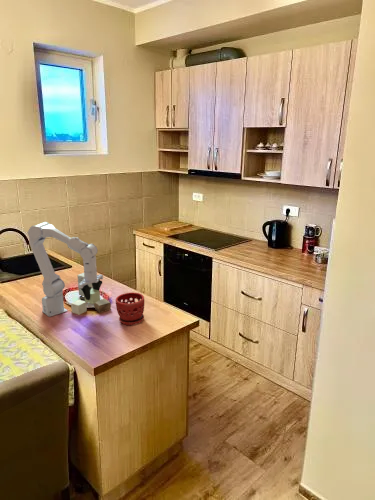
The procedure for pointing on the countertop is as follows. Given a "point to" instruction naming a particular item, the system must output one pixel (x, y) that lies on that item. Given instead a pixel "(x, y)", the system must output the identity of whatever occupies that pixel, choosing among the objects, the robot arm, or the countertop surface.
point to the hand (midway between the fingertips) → (92, 297)
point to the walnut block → (102, 305)
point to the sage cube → (93, 296)
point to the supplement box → (80, 279)
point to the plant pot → (130, 308)
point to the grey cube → (78, 307)
